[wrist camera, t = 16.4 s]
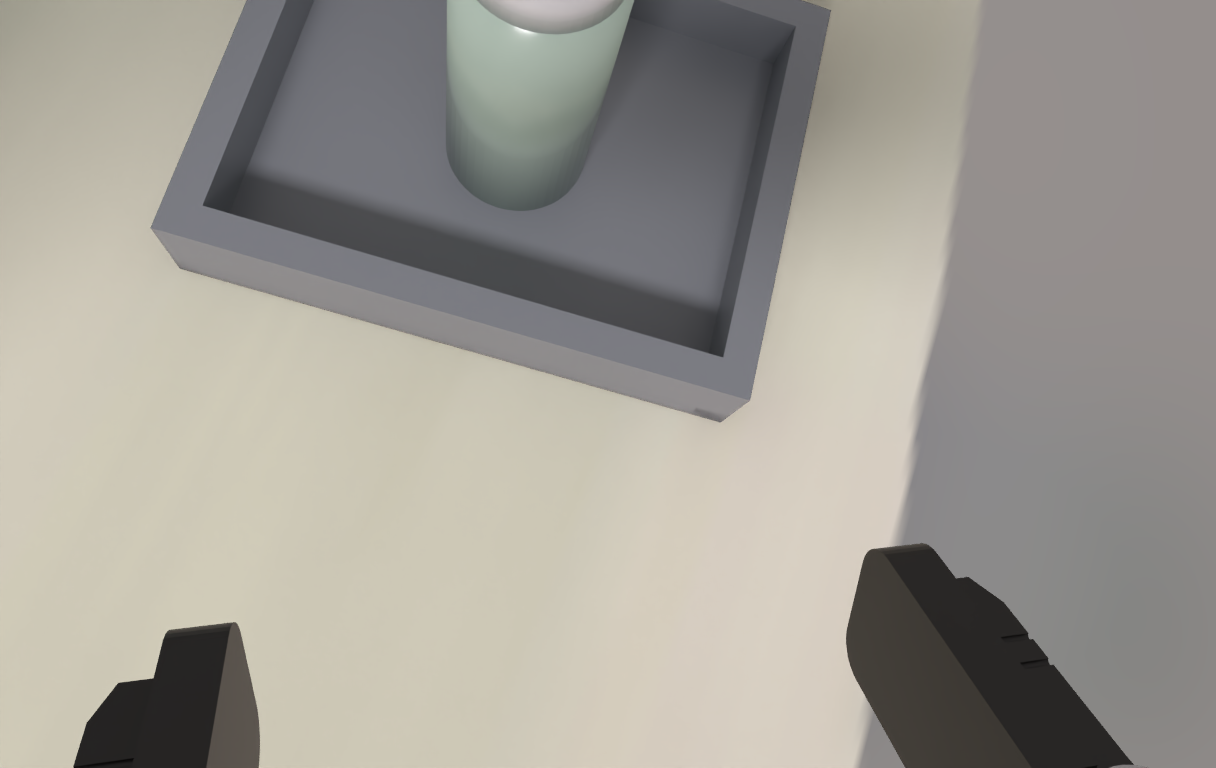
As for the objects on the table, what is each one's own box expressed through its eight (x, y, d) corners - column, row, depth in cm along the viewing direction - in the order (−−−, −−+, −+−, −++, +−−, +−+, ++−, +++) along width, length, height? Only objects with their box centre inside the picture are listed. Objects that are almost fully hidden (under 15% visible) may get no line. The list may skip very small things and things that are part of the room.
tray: (180, 268, 33) (150, 227, 30) (326, -92, 38) (315, -163, 34) (720, 422, 35) (750, 400, 32) (798, 62, 40) (830, 10, 36)
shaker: (428, 186, 34) (421, -36, 23) (468, 67, 36) (481, -198, 24) (565, 228, 35) (626, 31, 23) (599, 109, 36) (673, -131, 25)
